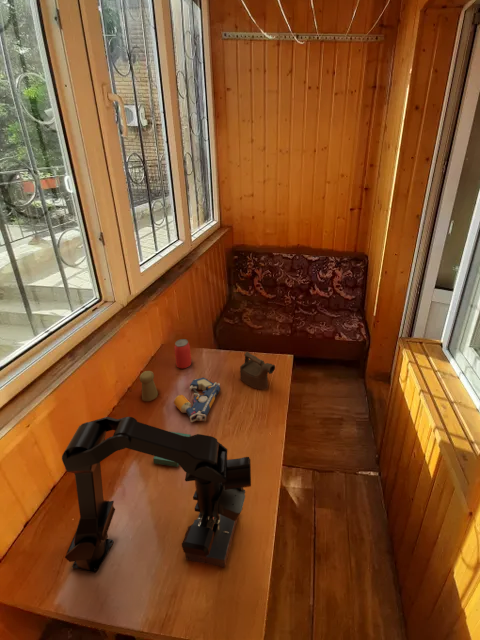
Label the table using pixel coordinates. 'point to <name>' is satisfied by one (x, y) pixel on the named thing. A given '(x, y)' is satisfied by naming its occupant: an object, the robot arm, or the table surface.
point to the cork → (148, 386)
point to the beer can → (182, 353)
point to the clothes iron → (255, 371)
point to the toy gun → (198, 399)
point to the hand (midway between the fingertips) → (212, 527)
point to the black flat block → (218, 545)
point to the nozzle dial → (217, 521)
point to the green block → (165, 461)
